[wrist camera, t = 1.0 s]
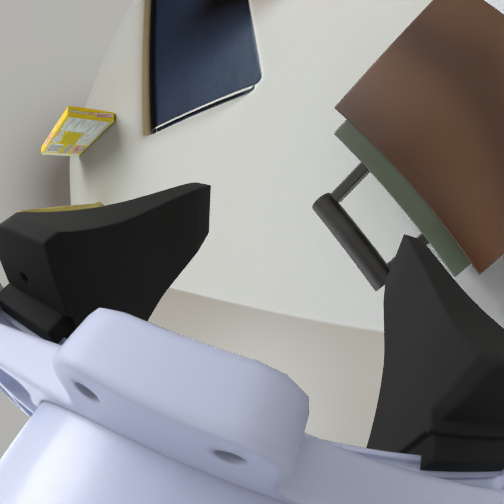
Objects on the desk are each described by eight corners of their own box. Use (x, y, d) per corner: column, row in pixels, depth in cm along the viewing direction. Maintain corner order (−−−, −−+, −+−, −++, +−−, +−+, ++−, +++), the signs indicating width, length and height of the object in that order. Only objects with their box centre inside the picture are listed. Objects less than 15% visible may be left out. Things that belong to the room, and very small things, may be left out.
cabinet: (476, 256, 18) (479, 275, 12) (373, 135, 21) (333, 107, 16) (576, 151, 11) (612, 126, 6) (464, 37, 15) (452, -20, 9)
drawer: (412, 298, 20) (393, 323, 16) (328, 189, 23) (287, 183, 19) (558, 161, 12) (583, 144, 8) (454, 54, 15) (444, 11, 11)
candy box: (115, 110, 44) (68, 104, 37) (115, 122, 44) (67, 117, 37) (78, 147, 54) (40, 146, 47) (78, 157, 54) (40, 156, 47)
